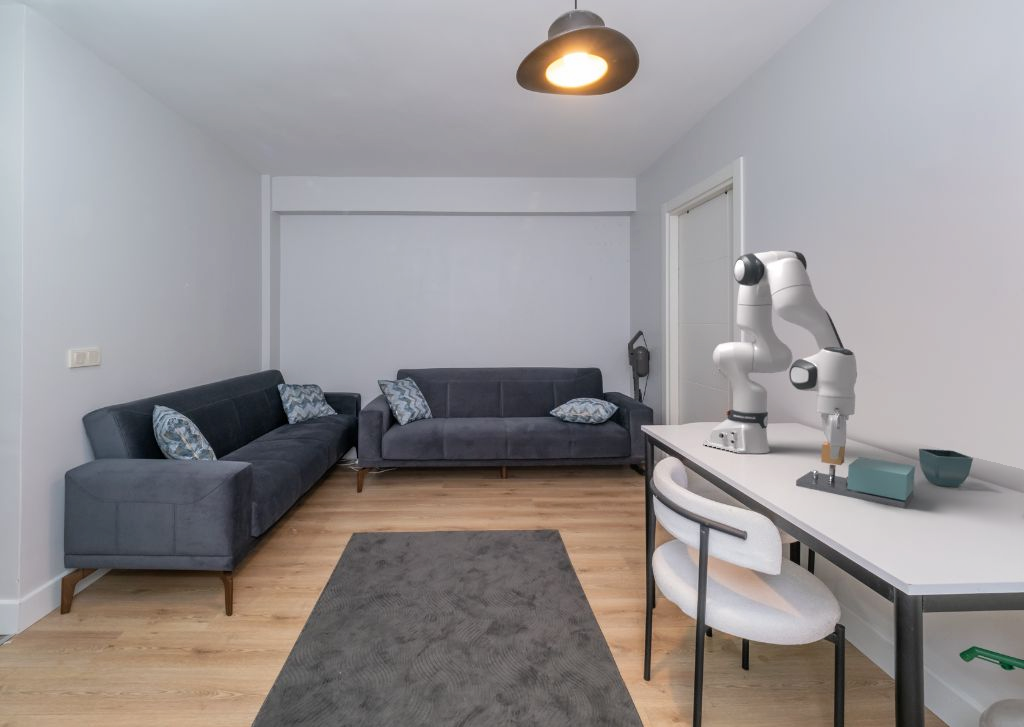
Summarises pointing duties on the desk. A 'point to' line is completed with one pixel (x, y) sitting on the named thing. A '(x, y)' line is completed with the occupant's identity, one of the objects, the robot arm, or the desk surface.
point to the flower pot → (945, 466)
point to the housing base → (844, 487)
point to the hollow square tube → (826, 455)
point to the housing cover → (881, 478)
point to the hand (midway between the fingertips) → (832, 456)
